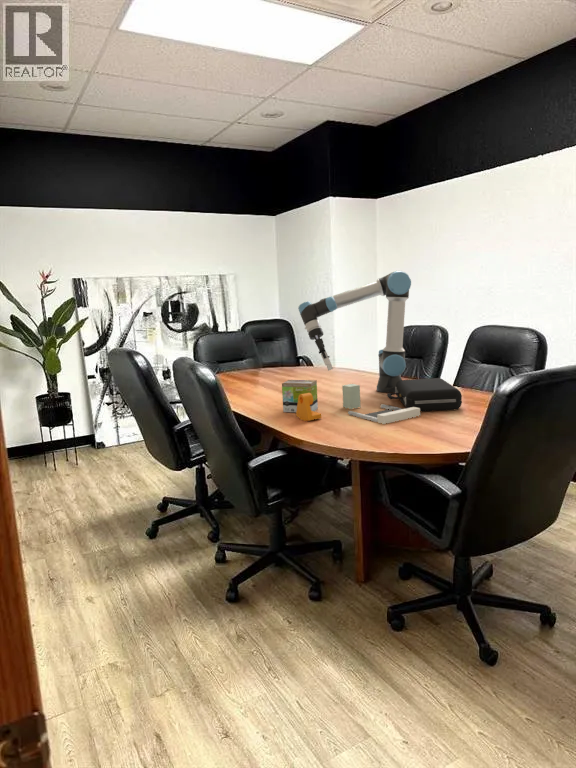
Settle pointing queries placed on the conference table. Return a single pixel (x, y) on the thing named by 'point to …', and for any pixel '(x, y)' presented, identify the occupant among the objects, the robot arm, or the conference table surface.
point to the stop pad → (378, 413)
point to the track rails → (371, 416)
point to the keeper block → (351, 396)
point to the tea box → (298, 393)
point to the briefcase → (427, 394)
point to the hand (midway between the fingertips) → (329, 367)
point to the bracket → (306, 408)
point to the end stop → (398, 415)
